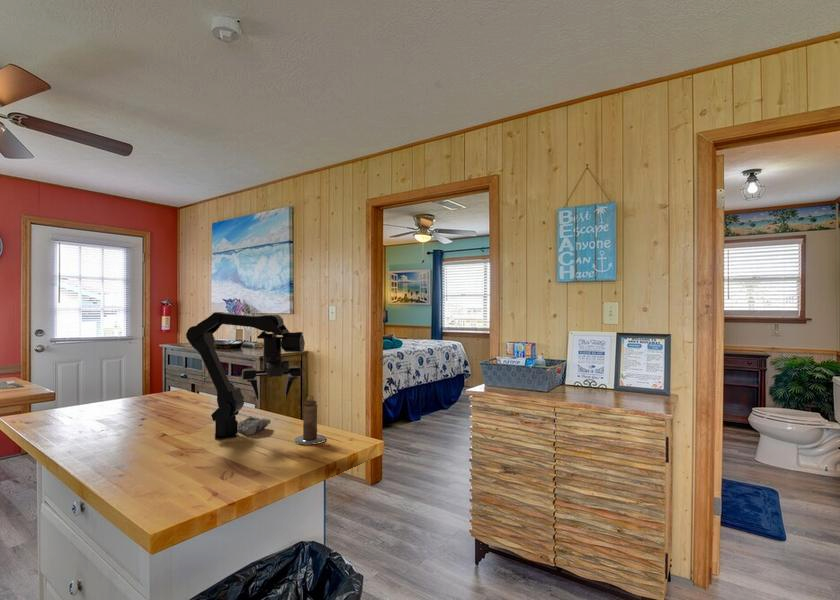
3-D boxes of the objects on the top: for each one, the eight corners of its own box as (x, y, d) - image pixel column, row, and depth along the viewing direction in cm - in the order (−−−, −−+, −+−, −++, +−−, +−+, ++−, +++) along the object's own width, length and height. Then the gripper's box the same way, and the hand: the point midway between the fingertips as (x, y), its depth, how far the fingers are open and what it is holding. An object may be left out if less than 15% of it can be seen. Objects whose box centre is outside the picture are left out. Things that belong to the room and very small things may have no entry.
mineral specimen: (248, 439, 149) (228, 430, 156) (275, 433, 157) (256, 424, 165) (249, 422, 149) (230, 413, 156) (277, 416, 157) (257, 409, 164)
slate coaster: (297, 446, 139) (297, 445, 139) (292, 438, 148) (292, 436, 148) (329, 442, 143) (329, 441, 143) (321, 434, 152) (321, 432, 152)
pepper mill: (307, 441, 143) (308, 397, 143) (300, 438, 146) (300, 395, 146) (319, 438, 146) (320, 395, 146) (312, 435, 149) (312, 393, 149)
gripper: (244, 355, 139) (244, 405, 138) (305, 353, 147) (304, 400, 146) (242, 352, 149) (241, 398, 148) (298, 349, 157) (298, 394, 157)
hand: (271, 398), depth 150 cm, fingers open, 9 cm apart
